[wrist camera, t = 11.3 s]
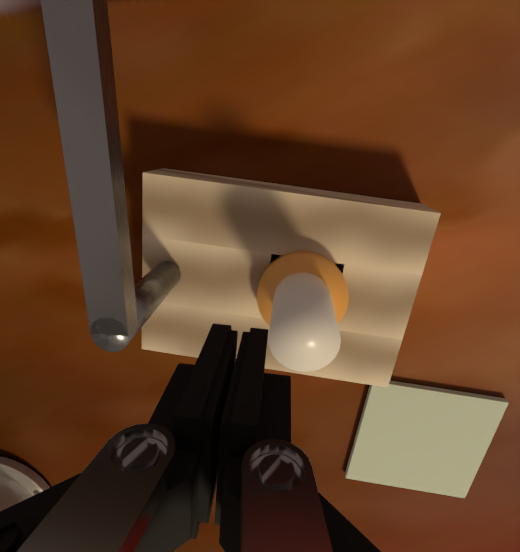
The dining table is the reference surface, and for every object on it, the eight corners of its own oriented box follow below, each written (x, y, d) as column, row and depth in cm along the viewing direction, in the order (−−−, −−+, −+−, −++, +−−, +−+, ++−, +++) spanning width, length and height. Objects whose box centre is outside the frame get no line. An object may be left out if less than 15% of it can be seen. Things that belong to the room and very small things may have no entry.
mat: (462, 492, 37) (464, 498, 36) (345, 473, 38) (345, 478, 37) (505, 398, 33) (508, 402, 32) (371, 377, 33) (373, 381, 33)
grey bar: (181, 287, 27) (130, 353, 19) (155, 285, 27) (93, 350, 19) (169, 36, 21) (88, -30, 13) (136, 36, 22) (35, -30, 13)
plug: (332, 314, 31) (349, 396, 21) (258, 303, 31) (241, 379, 21) (347, 243, 29) (375, 297, 19) (267, 231, 29) (253, 279, 19)
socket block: (377, 359, 32) (387, 387, 29) (158, 325, 33) (141, 348, 30) (420, 203, 27) (440, 213, 24) (162, 168, 28) (142, 172, 25)
